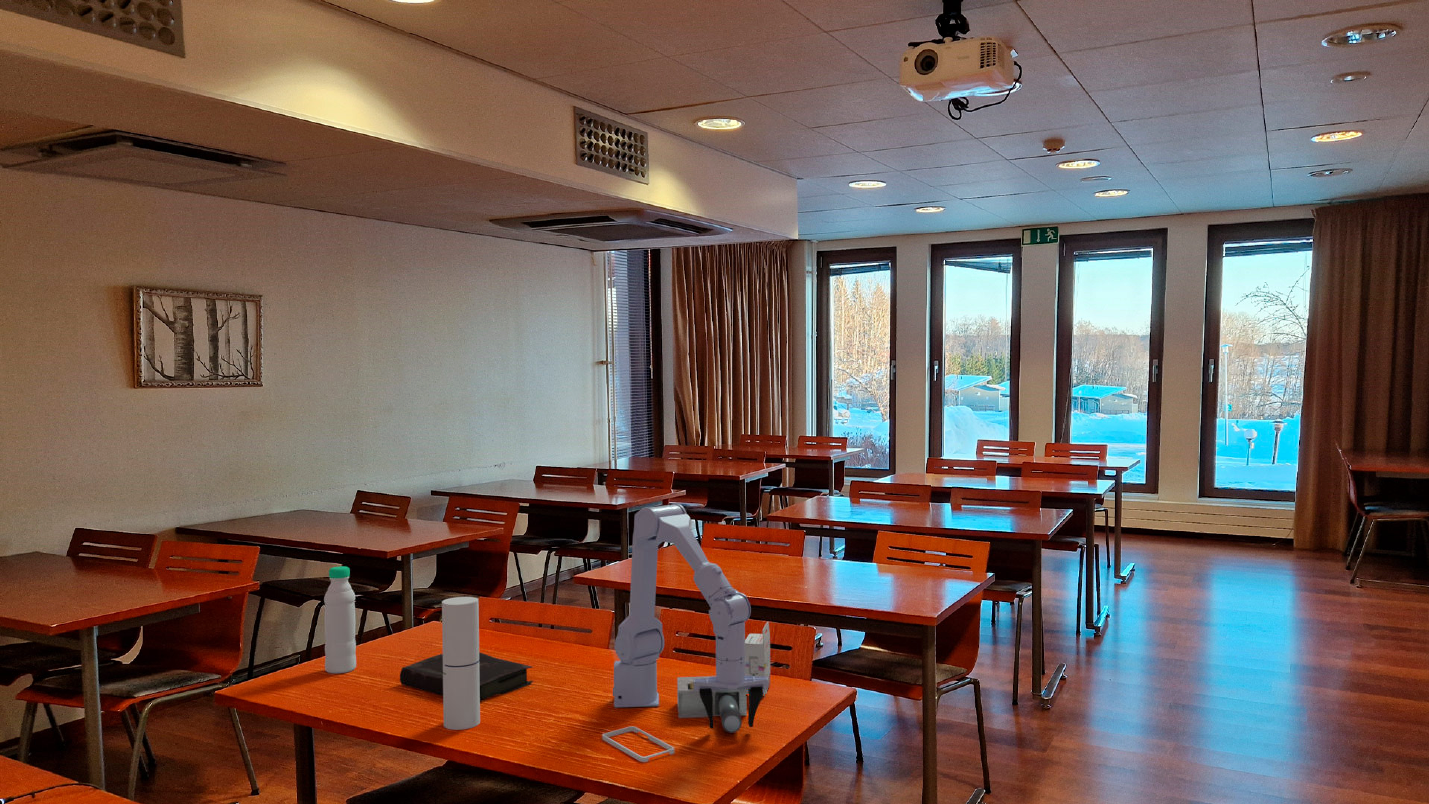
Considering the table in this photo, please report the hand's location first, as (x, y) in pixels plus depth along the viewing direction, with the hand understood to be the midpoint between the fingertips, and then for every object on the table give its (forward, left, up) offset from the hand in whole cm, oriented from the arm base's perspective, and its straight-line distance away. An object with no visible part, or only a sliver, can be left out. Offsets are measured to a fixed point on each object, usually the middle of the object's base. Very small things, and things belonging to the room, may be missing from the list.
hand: (731, 726), depth 183 cm
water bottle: (-91, +50, -2) cm, 104 cm away
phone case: (-18, -5, -2) cm, 19 cm away
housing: (-3, +14, -1) cm, 14 cm away
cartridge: (0, +4, -1) cm, 4 cm away
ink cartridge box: (+8, +26, -2) cm, 27 cm away
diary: (-58, +36, -2) cm, 68 cm away
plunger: (-6, +12, +3) cm, 14 cm away
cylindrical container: (-54, +10, -2) cm, 55 cm away
